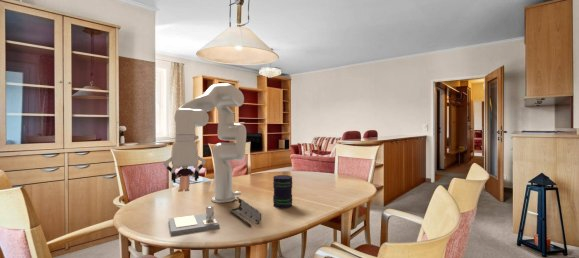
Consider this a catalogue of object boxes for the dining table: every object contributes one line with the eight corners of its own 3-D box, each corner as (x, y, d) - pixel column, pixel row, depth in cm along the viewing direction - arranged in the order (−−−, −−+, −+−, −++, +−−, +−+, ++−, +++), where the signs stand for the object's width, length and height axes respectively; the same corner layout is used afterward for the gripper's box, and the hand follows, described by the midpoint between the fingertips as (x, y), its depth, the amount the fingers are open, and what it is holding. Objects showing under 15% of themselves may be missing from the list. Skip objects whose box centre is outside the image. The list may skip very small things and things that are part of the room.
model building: (235, 214, 138) (257, 232, 117) (225, 206, 135) (247, 222, 114) (244, 202, 141) (268, 217, 120) (235, 194, 138) (258, 208, 117)
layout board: (211, 216, 128) (211, 212, 128) (219, 227, 114) (219, 223, 114) (168, 222, 120) (168, 217, 120) (171, 235, 106) (171, 230, 106)
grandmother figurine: (175, 192, 113) (175, 161, 113) (174, 190, 116) (174, 160, 116) (195, 190, 116) (195, 160, 116) (194, 188, 120) (194, 159, 119)
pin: (212, 219, 118) (212, 205, 118) (214, 222, 115) (214, 207, 115) (205, 220, 117) (205, 206, 117) (206, 223, 114) (206, 208, 114)
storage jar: (277, 209, 138) (277, 179, 138) (270, 204, 147) (270, 175, 147) (295, 207, 142) (295, 177, 142) (287, 202, 151) (287, 174, 151)
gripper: (205, 138, 123) (205, 178, 123) (161, 138, 115) (161, 181, 116) (208, 138, 116) (208, 181, 117) (162, 139, 109) (162, 185, 109)
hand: (185, 181), depth 116 cm, fingers closed on grandmother figurine, 7 cm apart
